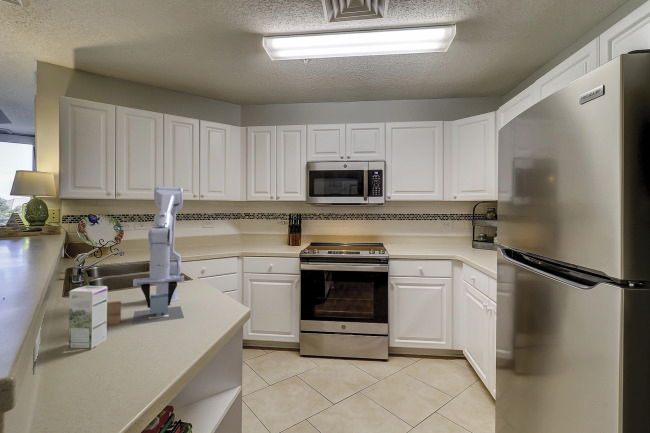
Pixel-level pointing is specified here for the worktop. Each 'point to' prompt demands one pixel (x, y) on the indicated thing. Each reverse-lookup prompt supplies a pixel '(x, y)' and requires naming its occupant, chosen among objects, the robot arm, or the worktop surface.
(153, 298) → the blue cube
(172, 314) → the letter mat
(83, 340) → the syrup box
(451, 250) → the worktop surface
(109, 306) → the walnut block
